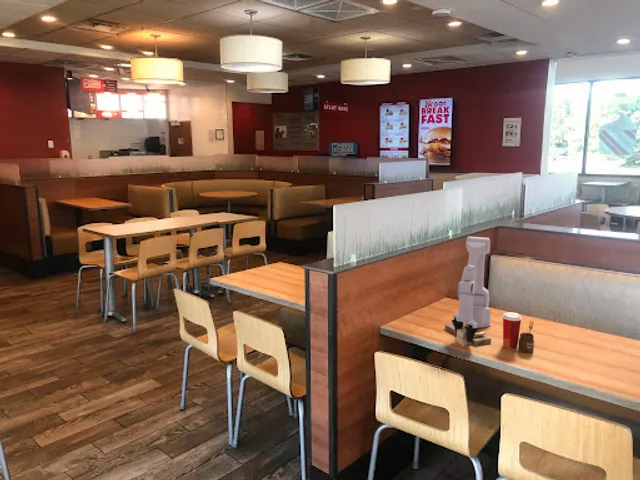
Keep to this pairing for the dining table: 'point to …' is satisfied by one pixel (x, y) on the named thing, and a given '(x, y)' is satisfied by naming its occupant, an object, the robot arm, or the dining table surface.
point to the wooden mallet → (465, 336)
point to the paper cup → (511, 329)
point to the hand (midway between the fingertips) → (464, 338)
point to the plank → (476, 340)
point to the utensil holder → (526, 341)
